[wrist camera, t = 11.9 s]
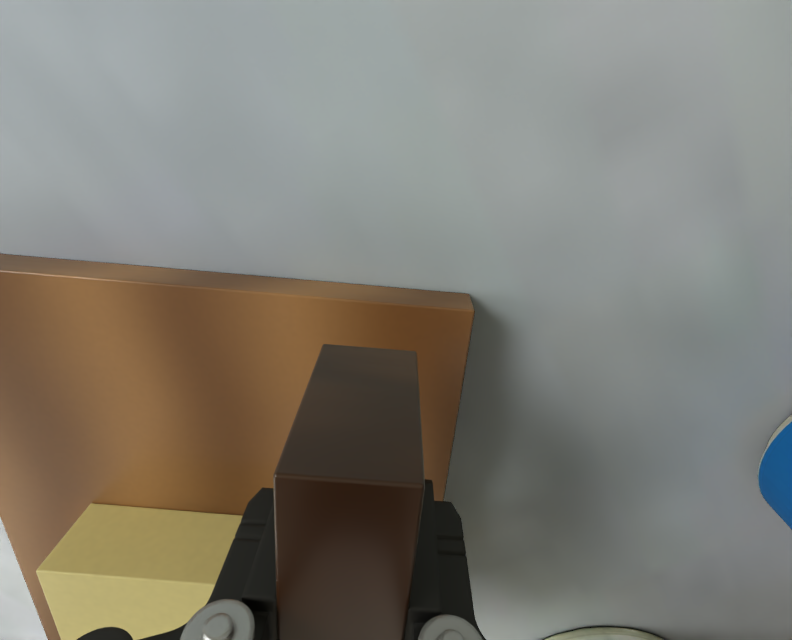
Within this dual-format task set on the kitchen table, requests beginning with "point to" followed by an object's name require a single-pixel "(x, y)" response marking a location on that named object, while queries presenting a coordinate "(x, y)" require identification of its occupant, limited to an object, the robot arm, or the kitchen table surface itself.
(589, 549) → the kitchen table surface
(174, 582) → the butter
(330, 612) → the knife
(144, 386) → the board
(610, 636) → the coffee can
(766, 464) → the beverage can
